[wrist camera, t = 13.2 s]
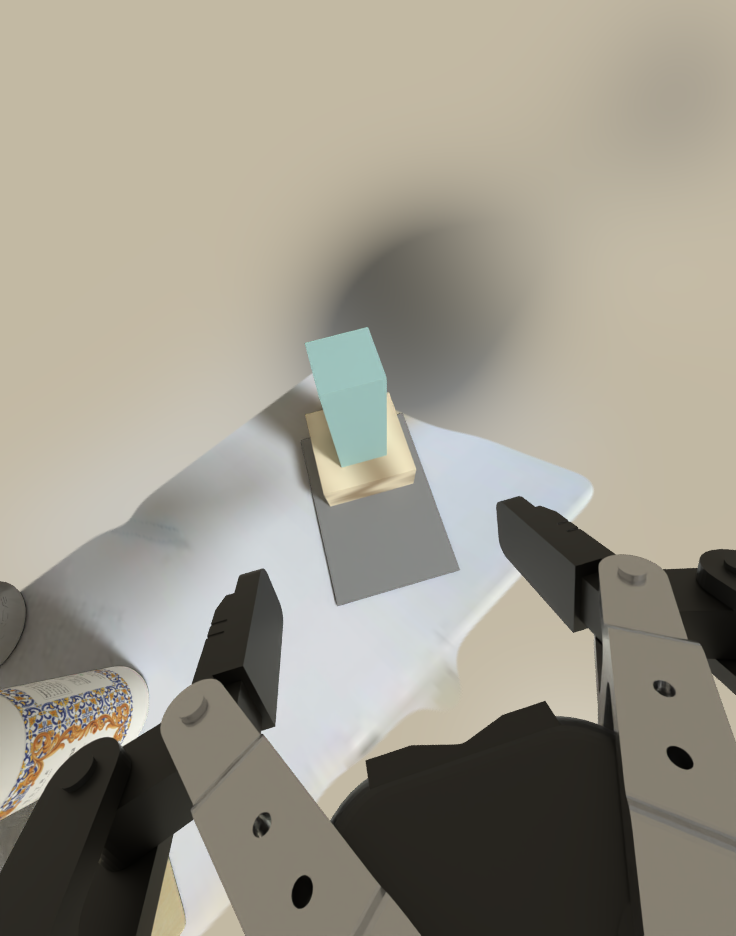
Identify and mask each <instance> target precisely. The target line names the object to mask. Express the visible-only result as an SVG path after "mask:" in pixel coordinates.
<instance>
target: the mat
mask: <svg viewBox="0 0 736 936" xmlns="http://www.w3.org/2000/svg"><path fill="white" fill-rule="evenodd" d="M397 417H398V419H399V422H400V425H401V428H402V431H403V433H404V436H405V439H406V442H407V445H408V447H409V450H410V453H411V456H412V459H413V461H414V464H415V467H416V473H415V478H414V483H413V484H410V485H406V486H403V487H399V488H396V489H392V490H389V491H385V492H381V493H378V494H374V495H371V496H367V497H363V498H360V499H356V500H353V501H349V502H345V503H342V504H338V505H335V506H331V507H330V505H329V503H328V501H327V500H326V498H325V496H324V493H323V489H322V485H321V481H320V476H319V472H318V468H317V464H316V459H315V455H314V451H313V447H312V442H311V438H307V439H303V440H301V444H302V448H303V453H304V457H305V462H306V466H307V471H308V475H309V480H310V484H311V489H312V493H313V498H314V502H315V507H316V511H317V516H318V520H319V525H320V529H321V534H322V538H323V543H324V547H325V552H326V556H327V561H328V565H329V570H330V574H331V579H332V583H333V588H334V592H335V597H336V601H337V606H340V605H343V604H346V603H350V602H353V601H357V600H360V599H363V598H367V597H370V596H374V595H377V594H380V593H384V592H387V591H391V590H394V589H397V588H401V587H404V586H407V585H411V584H414V583H418V582H421V581H424V580H428V579H431V578H435V577H438V576H441V575H445V574H448V573H452V572H455V571H458V570H460V569H459V566H458V563H457V561H456V558H455V555H454V552H453V550H452V547H451V544H450V541H449V539H448V536H447V533H446V530H445V528H444V525H443V522H442V519H441V517H440V514H439V511H438V509H437V506H436V503H435V500H434V498H433V495H432V492H431V489H430V487H429V484H428V481H427V478H426V476H425V473H424V470H423V467H422V465H421V462H420V459H419V457H418V454H417V451H416V448H415V446H414V443H413V440H412V437H411V435H410V432H409V429H408V426H407V424H406V421H405V418H404V415H403V413H401V414H397Z"/></svg>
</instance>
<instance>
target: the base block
mask: <svg viewBox="0 0 736 936" xmlns="http://www.w3.org/2000/svg"><path fill="white" fill-rule="evenodd" d="M305 417H306V421H307V426H308V430H309V434H310V438H311V442H312V447H313V451H314V455H315V459H316V464H317V468H318V472H319V476H320V481H321V485H322V489H323V493H324V496H325V498H326V500H327V501H328V503H329V505H330V507H331V506H335V505H338V504H342V503H345V502H349V501H353V500H356V499H360V498H363V497H367V496H371V495H374V494H378V493H381V492H385V491H389V490H392V489H396V488H399V487H403V486H406V485H410V484H413V483H414V478H415V473H416V467H415V464H414V461H413V459H412V456H411V453H410V450H409V447H408V445H407V442H406V439H405V436H404V433H403V431H402V428H401V425H400V422H399V419H398V417H397V414H396V411H395V408H394V405H393V403H392V400H391V397H390V394H389V393H387V455H386V456H382V457H379V458H375V459H371V460H368V461H364V462H360V463H357V464H353V465H349V466H346V467H341V464H340V461H339V458H338V454H337V451H336V448H335V445H334V442H333V439H332V436H331V433H330V429H329V426H328V423H327V420H326V417H325V414H324V411H323V410H321V411H317V412H313V413H309V414H305Z"/></svg>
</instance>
